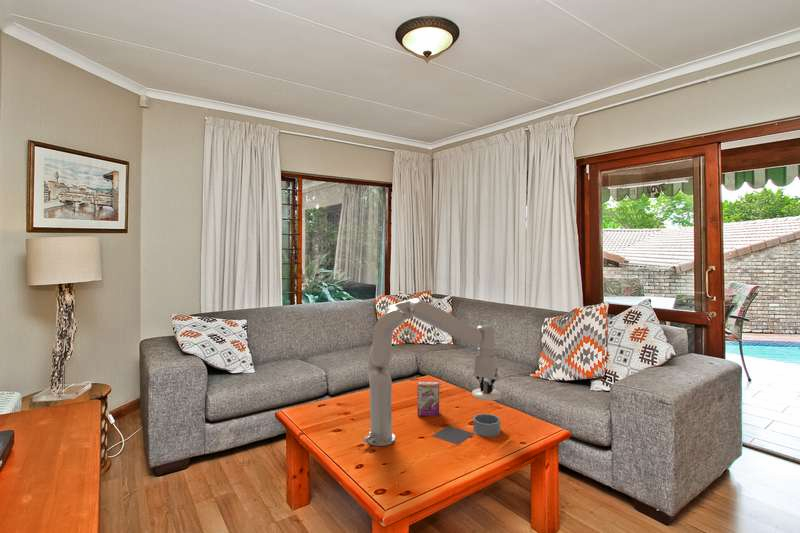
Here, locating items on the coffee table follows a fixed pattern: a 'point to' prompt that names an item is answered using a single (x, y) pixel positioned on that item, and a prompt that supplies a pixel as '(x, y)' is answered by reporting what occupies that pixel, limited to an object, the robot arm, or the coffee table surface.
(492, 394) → the lid
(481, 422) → the pot
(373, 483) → the coffee table surface
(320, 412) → the coffee table surface
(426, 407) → the candy bar box
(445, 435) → the mat
